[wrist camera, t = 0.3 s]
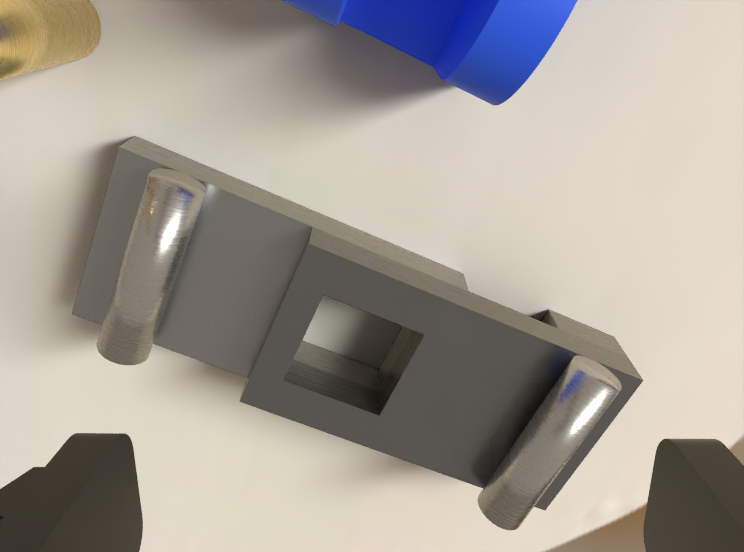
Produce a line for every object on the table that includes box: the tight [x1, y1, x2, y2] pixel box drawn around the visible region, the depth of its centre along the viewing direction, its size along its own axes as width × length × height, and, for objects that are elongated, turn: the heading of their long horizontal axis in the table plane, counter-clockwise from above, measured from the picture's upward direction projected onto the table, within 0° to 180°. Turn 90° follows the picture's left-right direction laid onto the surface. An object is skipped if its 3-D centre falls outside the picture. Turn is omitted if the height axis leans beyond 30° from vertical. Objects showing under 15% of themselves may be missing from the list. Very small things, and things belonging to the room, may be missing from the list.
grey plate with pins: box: [72, 136, 643, 530], centre depth 30 cm, size 9×26×6 cm, turn 66°
